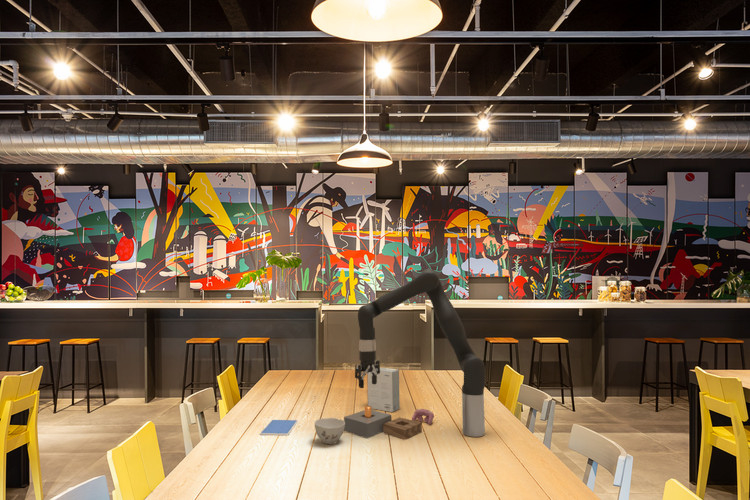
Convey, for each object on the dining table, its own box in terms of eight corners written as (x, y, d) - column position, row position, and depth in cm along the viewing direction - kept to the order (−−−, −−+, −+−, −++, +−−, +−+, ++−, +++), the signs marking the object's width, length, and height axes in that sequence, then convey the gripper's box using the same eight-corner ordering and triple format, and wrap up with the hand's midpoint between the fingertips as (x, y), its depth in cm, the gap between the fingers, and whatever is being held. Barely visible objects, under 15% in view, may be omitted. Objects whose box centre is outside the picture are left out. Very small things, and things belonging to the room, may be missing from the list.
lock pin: (367, 428, 198) (367, 405, 199) (372, 429, 196) (372, 406, 197) (363, 429, 196) (363, 406, 196) (368, 431, 194) (368, 408, 194)
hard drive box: (400, 409, 227) (400, 369, 228) (392, 412, 221) (392, 372, 222) (374, 404, 235) (374, 366, 237) (366, 408, 229) (366, 369, 230)
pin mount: (400, 426, 200) (400, 417, 201) (421, 432, 193) (421, 422, 193) (383, 433, 191) (383, 423, 192) (405, 439, 184) (405, 429, 184)
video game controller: (433, 427, 204) (435, 411, 207) (429, 425, 200) (432, 409, 203) (414, 423, 209) (416, 408, 212) (410, 421, 205) (413, 406, 208)
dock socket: (368, 421, 206) (368, 408, 207) (391, 428, 197) (391, 414, 198) (344, 430, 194) (344, 417, 195) (367, 438, 185) (367, 423, 186)
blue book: (272, 422, 209) (272, 419, 209) (298, 422, 208) (298, 419, 208) (259, 436, 189) (259, 433, 189) (288, 437, 189) (288, 433, 189)
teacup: (341, 448, 174) (341, 427, 175) (310, 446, 176) (310, 426, 177) (348, 435, 189) (348, 416, 190) (320, 433, 191) (320, 414, 192)
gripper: (371, 346, 206) (372, 381, 205) (350, 350, 195) (350, 387, 194) (384, 348, 201) (384, 384, 200) (362, 352, 190) (363, 390, 189)
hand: (367, 386), depth 197 cm, fingers open, 8 cm apart
